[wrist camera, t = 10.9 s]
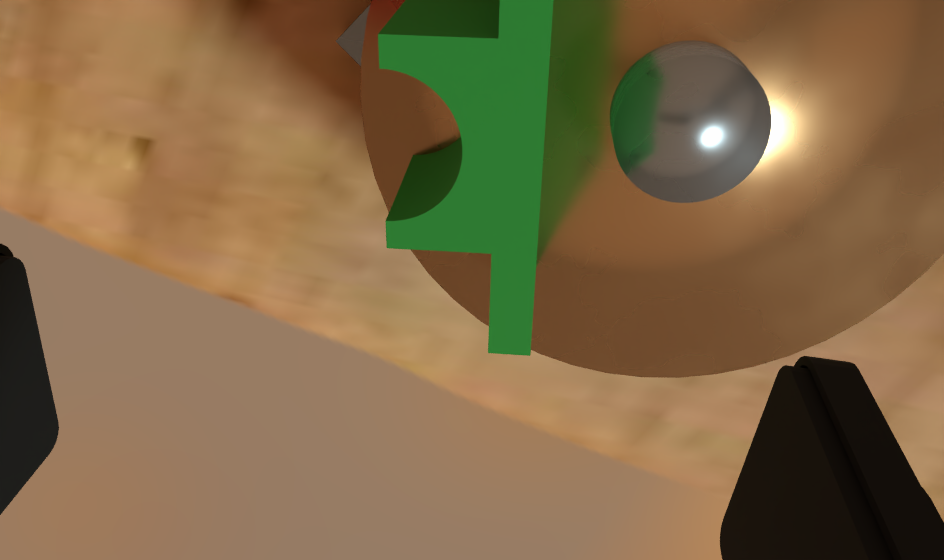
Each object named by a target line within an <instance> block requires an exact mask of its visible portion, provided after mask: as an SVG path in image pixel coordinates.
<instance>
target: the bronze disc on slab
mask: <svg viewBox="0 0 944 560" xmlns="http://www.w3.org/2000/svg"><path fill="white" fill-rule="evenodd" d="M404 1H405V0H372V1H371V4H370V5H369V6H368V7H367V8H366V9H365V10H364V12H363V13H362V14H361V15H360V16H359V17H358V18H357V19H356V20H355V21H354V22H353V23H352V24H351V25H350V27H349V28H348V29H347V30H346V31H345V32H344V33H343V34H342V35H341V36H340V37H339V38H338V39H337V40H336V42H337V43H338V44H339V45H340V46H341V47H342V48H343V49H344V50H345V51H346V52H347V53H348V54H349V55H350V56H351V57H352V58H353V59H354V60H355V61H356V62H357V63H358V64H359V65H360V66H361V108H362V116H363V124H364V132H365V141H366V145H367V148H368V152H369V156H370V160H371V164H372V168H373V172H374V176H375V179H376V181H377V184H378V186H379V189H380V191H381V194H382V196H383V199H384V201H385V204H386V206H387V209H388V211H389V212H390V209H391V207H392V204H393V202H394V200H395V197H396V195H397V192H398V190H399V187H400V185H401V183H402V180H403V178H404V175H405V173H406V170H407V168H408V166H409V163H410V161H411V158H412V156H413V155H424V154H430V153H434V152H437V151H440V150H442V149H444V148H446V147H448V146H449V145H451V144H452V143H454V142H455V141H456V140H457V139H458V138H460V137H461V135H460V131H459V128H458V125H457V122H456V120H455V118H454V116H453V114H452V112H451V111H450V109H449V107H448V106H447V105H446V103H445V102H444V101H443V100H442V98H441V97H440V96H439V95H438V94H437V93H436V92H435V91H433V90H432V89H431V88H430V87H429V86H427V85H426V84H424V83H423V82H421V81H419V80H418V79H416V78H414V77H412V76H409V75H407V74H404V73H401V72H398V71H394V70H389V69H379V49H378V33H379V32H380V31H381V30H382V28H383V27H384V26H385V25H386V24H387V22H388V21H389V20H390V19H391V17H392V16H393V15H394V14H395V12H396V11H397V10H398V9H399V8H400V6H401V5H402V4H403V3H404ZM411 251H412V252H413V253H414V255H415V256H416V257H417V259H418V260H419V261H420V263H421V264H422V265H423V267H424V268H425V269H426V271H427V272H428V273H429V274H430V275H431V276H432V278H433V279H434V280H435V281H436V282H437V283H438V284H439V285H440V286H441V287H442V288H443V289H444V290H445V291H446V292H447V293H448V294H449V295H450V296H451V297H452V298H453V299H454V300H455V301H456V302H458V303H459V304H460V305H461V306H463V307H464V308H465V309H466V310H467V311H469V312H470V313H471V314H472V315H474V316H475V317H476V318H477V319H479V320H480V321H481V322H483V323H485V324H486V325H488V326H489V312H490V282H491V254H485V253H467V252H449V251H431V250H413V249H411ZM943 254H944V0H553V15H552V31H551V46H550V61H549V77H548V92H547V108H546V123H545V138H544V154H543V169H542V184H541V200H540V215H539V230H538V246H537V261H536V276H535V292H534V307H533V322H532V338H531V350H533V351H535V352H537V353H540V354H542V355H545V356H548V357H551V358H554V359H557V360H559V361H562V362H565V363H568V364H571V365H574V366H579V367H583V368H588V369H592V370H596V371H601V372H605V373H612V374H620V375H629V376H638V377H689V376H700V375H711V374H719V373H724V372H729V371H734V370H739V369H744V368H749V367H754V366H757V365H760V364H763V363H767V362H770V361H773V360H777V359H780V358H783V357H786V356H790V355H792V354H794V353H797V352H799V351H802V350H804V349H806V348H809V347H811V346H814V345H816V344H818V343H821V342H823V341H826V340H827V339H829V338H831V337H833V336H835V335H837V334H838V333H840V332H842V331H844V330H846V329H848V328H850V327H851V326H853V325H855V324H857V323H859V322H861V321H862V320H864V319H865V318H867V317H868V316H869V315H871V314H872V313H874V312H875V311H877V310H878V309H880V308H881V307H883V306H884V305H886V304H887V303H889V302H890V301H891V300H893V299H894V298H896V297H897V296H898V295H899V294H900V293H902V292H903V291H904V290H905V289H906V288H907V287H909V286H910V285H911V284H912V283H913V282H915V281H916V280H917V279H918V278H919V277H920V276H922V275H923V274H924V273H925V272H926V271H927V270H928V269H929V268H930V267H931V266H932V265H933V264H934V263H935V262H936V261H937V260H938V259H939V258H940V257H941V256H942V255H943Z"/></svg>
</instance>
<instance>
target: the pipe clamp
mask: <svg viewBox="0 0 944 560" xmlns="http://www.w3.org/2000/svg"><path fill="white" fill-rule="evenodd" d="M552 15H553V0H405V1H404V3H403V4H402V5H401V6H400V8H399V9H398V10H397V11H396V12H395V14H394V15H393V16H392V17H391V19H390V20H389V21H388V22H387V24H386V25H385V26H384V27H383V28H382V30H381V31H380V32H379V33H378V49H379V69H389V70H394V71H398V72H401V73H404V74H407V75H409V76H412V77H414V78H416V79H418V80H419V81H421V82H423V83H424V84H426V85H427V86H429V87H430V88H431V89H432V90H433V91H435V92H436V93H437V94H438V95H439V96H440V97H441V98H442V100H443V101H444V102H445V103H446V105H447V106H448V107H449V109H450V111H451V112H452V114H453V116H454V118H455V120H456V122H457V125H458V128H459V131H460V135H461V137H460V138H458V139H457V140H456V141H455V142H454V143H452V144H451V145H449V146H448V147H446V148H444V149H442V150H440V151H437V152H434V153H430V154H424V155H413V156H412V158H411V161H410V163H409V166H408V168H407V170H406V173H405V175H404V178H403V180H402V183H401V185H400V187H399V190H398V192H397V195H396V197H395V200H394V202H393V204H392V207H391V209H390V212H389V214H388V217H387V219H386V241H387V248H394V249H413V250H431V251H449V252H467V253H485V254H491V282H490V312H489V343H488V353H497V354H513V355H529V356H530V353H531V338H532V322H533V307H534V292H535V276H536V261H537V246H538V230H539V215H540V200H541V184H542V169H543V154H544V138H545V123H546V108H547V92H548V77H549V61H550V46H551V31H552Z"/></svg>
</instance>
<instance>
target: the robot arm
mask: <svg viewBox="0 0 944 560" xmlns="http://www.w3.org/2000/svg"><path fill="white" fill-rule="evenodd" d="M58 430H59V426H58V419H57V414H56V409H55V404H54V400H53V395H52V391H51V386H50V381H49V376H48V372H47V367H46V363H45V358H44V353H43V349H42V344H41V340H40V335H39V330H38V325H37V321H36V316H35V311H34V307H33V303H32V297H31V293H30V288H29V284H28V279H27V275H26V270H25V267H24V265H23V263H22V262H21V260H19V259H17V258H15V257H13V254H12V252H11V251H10V250H9V248H8V247H7V246H5V245H2V244H0V515H1V513H2V512H3V511H4V509H5V508H6V507H7V506H8V505H9V503H10V502H11V501H12V500H13V498H14V497H15V496H16V495H17V493H18V492H19V491H20V490H21V488H22V487H23V486H24V485H25V484H26V482H27V481H28V480H29V479H30V477H31V476H32V475H33V474H34V472H35V471H36V470H37V469H38V467H39V466H40V465H41V464H42V462H43V461H44V460H45V459H46V457H47V456H48V455H49V454H50V452H51V451H52V449H53V447H54V445H55V443H56V440H57V436H58ZM720 548H721V555H722V559H723V560H944V522H943V520H942V519H941V517H940V515H939V513H938V511H937V509H936V507H935V506H934V504H933V502H932V500H931V498H930V497H929V496H928V494H927V493H926V492H925V490H924V489H923V488H922V487H921V485H920V483H919V482H918V480H917V478H916V476H915V474H914V472H913V470H912V468H911V467H910V465H909V463H908V461H907V459H906V457H905V455H904V453H903V452H902V450H901V448H900V446H899V444H898V442H897V440H896V438H895V437H894V435H893V433H892V431H891V429H890V427H889V425H888V423H887V422H886V420H885V418H884V416H883V414H882V412H881V410H880V409H879V407H878V405H877V403H876V401H875V399H874V397H873V395H872V394H871V392H870V390H869V388H868V386H867V384H866V382H865V380H864V379H863V377H862V375H861V373H860V371H859V369H858V368H857V367H856V365H855V364H853V363H850V362H845V361H837V360H830V359H823V358H816V357H809V356H803V357H801V358H799V360H798V361H797V362H796V363H795V365H794V366H786V365H785V366H783V367H782V368H781V369H780V370H779V372H778V374H777V377H776V379H775V382H774V385H773V387H772V390H771V393H770V395H769V398H768V401H767V403H766V406H765V409H764V411H763V414H762V417H761V419H760V422H759V425H758V428H757V430H756V433H755V436H754V438H753V441H752V444H751V446H750V449H749V452H748V454H747V457H746V460H745V462H744V465H743V468H742V470H741V473H740V476H739V478H738V481H737V484H736V486H735V489H734V492H733V494H732V497H731V500H730V502H729V505H728V508H727V510H726V513H725V516H724V519H723V522H722V526H721V533H720Z"/></svg>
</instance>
